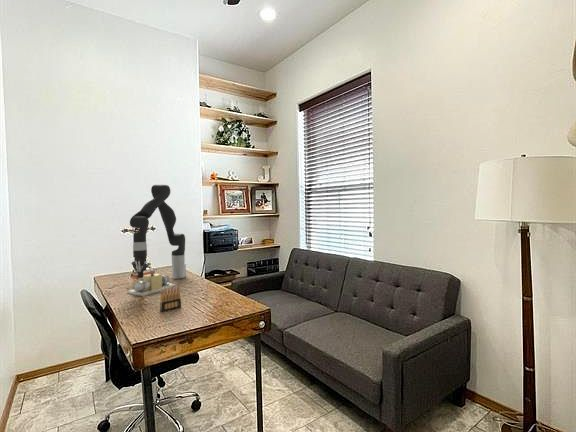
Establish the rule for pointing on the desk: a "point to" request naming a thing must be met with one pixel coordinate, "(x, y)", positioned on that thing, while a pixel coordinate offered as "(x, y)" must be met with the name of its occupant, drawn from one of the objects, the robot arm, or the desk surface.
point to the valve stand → (151, 284)
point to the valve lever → (144, 273)
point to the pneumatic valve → (143, 275)
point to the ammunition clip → (170, 299)
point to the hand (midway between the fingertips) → (140, 277)
